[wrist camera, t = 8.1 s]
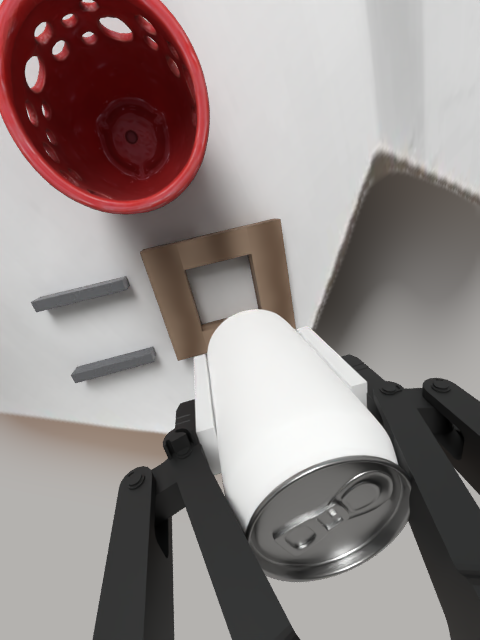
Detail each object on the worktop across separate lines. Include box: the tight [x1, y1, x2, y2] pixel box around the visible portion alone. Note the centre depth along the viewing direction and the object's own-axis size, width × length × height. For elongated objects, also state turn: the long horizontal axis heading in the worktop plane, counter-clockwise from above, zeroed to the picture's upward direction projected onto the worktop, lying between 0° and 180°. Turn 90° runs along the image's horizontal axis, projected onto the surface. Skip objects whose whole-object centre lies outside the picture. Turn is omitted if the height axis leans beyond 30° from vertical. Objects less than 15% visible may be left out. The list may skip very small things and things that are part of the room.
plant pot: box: [0, 0, 210, 214], centre depth 22 cm, size 13×13×12 cm
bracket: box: [31, 276, 156, 383], centre depth 33 cm, size 10×11×2 cm
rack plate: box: [140, 219, 296, 361], centre depth 34 cm, size 16×14×3 cm
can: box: [207, 309, 412, 582], centre depth 14 cm, size 6×6×12 cm
